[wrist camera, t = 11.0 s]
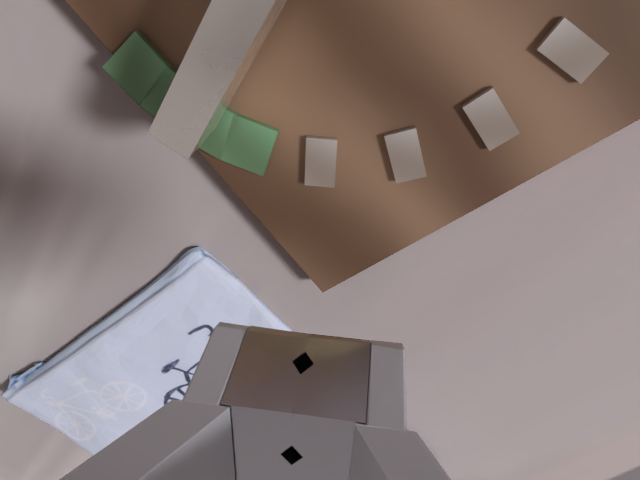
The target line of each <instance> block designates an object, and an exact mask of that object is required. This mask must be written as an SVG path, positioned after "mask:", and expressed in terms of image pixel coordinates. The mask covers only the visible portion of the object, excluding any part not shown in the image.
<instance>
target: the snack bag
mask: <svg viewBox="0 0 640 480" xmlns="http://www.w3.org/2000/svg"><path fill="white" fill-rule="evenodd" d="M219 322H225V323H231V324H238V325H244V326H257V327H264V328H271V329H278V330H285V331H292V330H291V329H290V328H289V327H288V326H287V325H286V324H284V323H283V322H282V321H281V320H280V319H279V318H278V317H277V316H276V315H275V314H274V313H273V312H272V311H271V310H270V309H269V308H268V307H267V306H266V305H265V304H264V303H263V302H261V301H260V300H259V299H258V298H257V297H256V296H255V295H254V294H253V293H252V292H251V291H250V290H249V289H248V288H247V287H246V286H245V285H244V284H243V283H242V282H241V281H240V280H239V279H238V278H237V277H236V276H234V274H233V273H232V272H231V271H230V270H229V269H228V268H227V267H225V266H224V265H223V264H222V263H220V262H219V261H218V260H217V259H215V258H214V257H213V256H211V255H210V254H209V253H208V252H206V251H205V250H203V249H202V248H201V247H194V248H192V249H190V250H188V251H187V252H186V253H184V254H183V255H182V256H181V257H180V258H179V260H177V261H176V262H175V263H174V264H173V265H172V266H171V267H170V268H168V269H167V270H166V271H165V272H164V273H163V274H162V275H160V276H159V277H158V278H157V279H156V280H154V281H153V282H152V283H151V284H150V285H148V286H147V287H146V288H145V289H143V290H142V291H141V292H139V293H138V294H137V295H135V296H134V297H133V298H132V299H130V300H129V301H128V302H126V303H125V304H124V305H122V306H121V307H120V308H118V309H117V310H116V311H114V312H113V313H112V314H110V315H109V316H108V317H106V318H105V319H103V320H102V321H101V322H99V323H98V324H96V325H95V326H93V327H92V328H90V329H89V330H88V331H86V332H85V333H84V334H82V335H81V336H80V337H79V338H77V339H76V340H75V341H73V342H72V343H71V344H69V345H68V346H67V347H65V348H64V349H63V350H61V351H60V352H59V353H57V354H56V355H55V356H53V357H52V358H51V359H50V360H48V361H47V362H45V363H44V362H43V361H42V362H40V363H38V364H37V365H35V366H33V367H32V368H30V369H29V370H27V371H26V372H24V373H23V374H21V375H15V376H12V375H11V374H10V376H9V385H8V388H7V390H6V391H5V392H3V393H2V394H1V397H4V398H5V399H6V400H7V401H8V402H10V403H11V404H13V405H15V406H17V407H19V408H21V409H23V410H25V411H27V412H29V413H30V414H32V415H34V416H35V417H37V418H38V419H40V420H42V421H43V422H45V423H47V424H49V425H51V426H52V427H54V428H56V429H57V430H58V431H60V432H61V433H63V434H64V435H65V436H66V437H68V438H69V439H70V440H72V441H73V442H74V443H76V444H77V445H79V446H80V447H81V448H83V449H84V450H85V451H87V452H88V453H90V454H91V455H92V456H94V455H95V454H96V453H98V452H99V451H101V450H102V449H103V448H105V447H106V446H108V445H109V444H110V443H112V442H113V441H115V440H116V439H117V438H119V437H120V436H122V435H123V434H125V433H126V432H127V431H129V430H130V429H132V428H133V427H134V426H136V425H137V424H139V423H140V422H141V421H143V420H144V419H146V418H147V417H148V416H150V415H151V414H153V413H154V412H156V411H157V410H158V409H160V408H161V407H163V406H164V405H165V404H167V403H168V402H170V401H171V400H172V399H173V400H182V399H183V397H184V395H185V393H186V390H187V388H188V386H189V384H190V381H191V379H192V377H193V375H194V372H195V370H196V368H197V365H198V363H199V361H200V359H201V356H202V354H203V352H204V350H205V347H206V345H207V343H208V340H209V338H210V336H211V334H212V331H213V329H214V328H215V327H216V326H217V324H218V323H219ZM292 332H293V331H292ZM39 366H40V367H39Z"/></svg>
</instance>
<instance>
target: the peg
mask: <svg viewBox="0 0 640 480" xmlns="http://www.w3.org/2000/svg"><path fill="white" fill-rule="evenodd" d="M286 2H287V0H211V3H210V5H209V7H208V9H207V11H206V13H205V15H204V17H203V19H202V21H201V23H200V25H199V27H198V29H197V32H196V34H195V36H194V38H193V40H192V42H191V44H190V46H189V48H188V50H187V52H186V54H185V56H184V59H183V61H182V63H181V65H180V67H179V69H178V71H177V73H176V75H175V77H174V79H173V81H172V83H171V85H170V88H169V90H168V92H167V94H166V96H165V98H164V100H163V102H162V104H161V106H160V108H159V110H158V112H157V114H156V117H155V119H154V121H153V123H152V125H151V127H150V129H149V131H148V133H147V135H149V136H151V137H152V138H154V139H155V140H157V141H159V142H160V143H162V144H163V145H165V146H167V147H168V148H170V149H172V150H173V151H175V152H176V153H178V154H180V155H181V156H183V157H184V158H186V159H189V158H190V157H191V156H192V155H193V154H194V153H195V151H196V150H197V149H198V148H199V147H200V146H201V145H202V143H203V142H204V141H205V140H206V139H207V138H208V137H209V136H210V134H211V133H212V132H213V131H214V130H215V128H216V126H217V125H218V123H219V121H220V119H221V117H222V116H223V114H224V112H225V110H226V109H227V107H228V105H229V103H230V101H231V100H232V98H233V96H234V94H235V93H236V91H237V89H238V87H239V85H240V84H241V82H242V80H243V78H244V76H245V75H246V73H247V71H248V69H249V68H250V66H251V64H252V62H253V60H254V59H255V57H256V55H257V53H258V52H259V50H260V48H261V46H262V44H263V43H264V41H265V39H266V37H267V35H268V34H269V32H270V30H271V28H272V27H273V25H274V23H275V21H276V19H277V18H278V16H279V14H280V12H281V11H282V9H283V7H284V5H285V3H286Z"/></svg>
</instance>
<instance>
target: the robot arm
mask: <svg viewBox="0 0 640 480" xmlns="http://www.w3.org/2000/svg"><path fill="white" fill-rule="evenodd" d="M60 480H451V479H450V478H449V476H448V475H447V474H446V472H445V471H444V469H443V468H442V467H441V465H440V464H439V463H438V461H437V460H436V458H435V457H434V456H433V454H432V453H431V451H430V450H429V449H428V447H427V446H426V444H425V443H424V442H423V440H422V439H421V437H420V436H419V435H418V433H417V432H414V431H408V430H406V392H405V348H404V346H403V344H402V343H392V342H383V341H373V340H372V341H371V342H370V340H362V339H353V338H343V337H334V336H325V335H316V334H306V333H299V332H292V331H285V330H278V329H271V328H264V327H257V326H244V325H238V324H231V323H225V322H219V323H218V324H217V326H216V327H215V328H214V329H213V331H212V334H211V336H210V338H209V340H208V343H207V345H206V347H205V350H204V352H203V354H202V356H201V359H200V361H199V363H198V365H197V368H196V370H195V372H194V375H193V377H192V379H191V381H190V384H189V386H188V388H187V390H186V393H185V395H184V397H183V399H182V400H173V399H172V400H171V401H170V402H168V403H167V404H165V405H164V406H163V407H161V408H160V409H158V410H157V411H156V412H154V413H153V414H151V415H150V416H148V417H147V418H146V419H144V420H143V421H141V422H140V423H139V424H137V425H136V426H134V427H133V428H132V429H130V430H129V431H127V432H126V433H125V434H123V435H122V436H120V437H119V438H117V439H116V440H115V441H113V442H112V443H110V444H109V445H108V446H106V447H105V448H103V449H102V450H101V451H99V452H98V453H96V454H95V455H94V456H92V457H91V458H89V459H88V460H86V461H85V462H84V463H82V464H81V465H79V466H78V467H77V468H75V469H74V470H72V471H71V472H70V473H68V474H67V475H65V476H64V477H63V478H61V479H60Z"/></svg>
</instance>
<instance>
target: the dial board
mask: <svg viewBox="0 0 640 480" xmlns="http://www.w3.org/2000/svg"><path fill="white" fill-rule="evenodd" d="M65 1H66V2H67V3H68V4H69V6H70V7H71V8H72V9H73V10H74V11H75V12H76V13H77V15H78V16H79V17H80V18H81V19H82V20H83V21H84V23H85V24H86V25H87V26H88V27H89V28H90V29H91V30H92V32H93V33H94V34H95V35H96V36H97V37H98V38H99V39H100V41H101V42H102V43H103V44H104V45H105V46H106V47H107V49H108V50H109V51H110V52H111V53H112V54H113V56H112V57H111V58H110V59H109V60H108V61H107V62H106V63H105V64H104V65H103V67H102V68H103V69H104V70H105V71H106V72H107V73H108V74H109V75H110V76H111V77H112V78H113V79H114V80H115V81H116V82H117V83H118V84H119V85H120V86H121V87H122V88H123V89H124V90H125V91H126V92H127V93H128V94H129V96H130V97H131V98H132V99H133V100H134V101H135V102H136V103H137V104H138V105H139V104H140V103H141V104H140V106H141V107H142V108H143V109H144V110H146V111H147V112H148V113H150V114H151V115H152V116H153V117H156V114H157V112H158V110H159V108H160V106H161V104H162V102H163V100H164V98H165V96H166V94H167V92H168V90H169V88H170V85H171V83H172V81H173V79H174V77H175V75H176V73H177V71H178V69H179V67H180V65H181V63H182V61H183V59H184V56H185V54H186V52H187V50H188V48H189V46H190V44H191V42H192V40H193V38H194V36H195V34H196V32H197V29H198V27H199V25H200V23H201V21H202V19H203V17H204V15H205V13H206V11H207V9H208V7H209V5H210V3H211V0H65ZM639 119H640V0H287V2H286V3H285V5H284V7H283V9H282V11H281V12H280V14H279V16H278V18H277V19H276V21H275V23H274V25H273V27H272V28H271V30H270V32H269V34H268V35H267V37H266V39H265V41H264V43H263V44H262V46H261V48H260V50H259V52H258V53H257V55H256V57H255V59H254V60H253V62H252V64H251V66H250V68H249V69H248V71H247V73H246V75H245V76H244V78H243V80H242V82H241V84H240V85H239V87H238V89H237V91H236V93H235V94H234V96H233V98H232V100H231V101H230V103H229V105H228V107H227V109H226V110H225V112H224V114H223V116H222V117H221V119H220V121H219V123H218V125H217V126H216V128H215V130H214V131H213V132H212V133H211V134H210V136H209V137H208V138H207V139H206V140H205V141H204V142H203V143H202V145H201V146H200V147H199V148H198V149H197V151H198V152H199V153H200V154H201V155H202V156H203V157H204V158H205V160H206V161H207V162H208V163H209V164H210V165H211V166H212V168H213V169H214V170H215V171H216V172H217V173H218V174H219V175H220V177H221V178H222V179H223V180H224V181H225V182H226V183H227V185H228V186H229V187H230V188H231V189H232V190H233V191H234V192H235V194H236V195H237V196H238V197H239V198H240V199H241V200H242V201H243V203H244V204H245V205H246V206H247V207H248V208H249V209H250V211H251V212H252V213H253V214H254V215H255V216H256V217H257V218H258V220H259V221H260V222H261V223H262V224H263V225H264V226H265V228H266V229H267V230H268V231H269V232H270V233H271V234H272V235H273V237H274V238H275V239H276V240H277V241H278V242H279V243H280V245H281V246H282V247H283V248H284V249H285V250H286V251H287V252H288V254H289V255H290V256H291V257H292V258H293V259H294V260H295V262H296V263H297V264H298V265H299V266H300V267H301V268H302V269H303V271H304V272H305V273H306V274H307V275H308V276H309V277H310V279H311V280H312V281H313V282H314V283H315V284H316V285H317V286H318V288H319V289H320V290H321V291H322V292H324V291H326V290H328V289H330V288H332V287H334V286H335V285H337V284H339V283H341V282H343V281H345V280H346V279H348V278H350V277H352V276H354V275H356V274H357V273H359V272H361V271H363V270H365V269H367V268H368V267H370V266H372V265H374V264H376V263H377V262H379V261H381V260H383V259H385V258H387V257H388V256H390V255H392V254H394V253H396V252H398V251H399V250H401V249H403V248H405V247H407V246H409V245H410V244H412V243H414V242H416V241H418V240H420V239H421V238H423V237H425V236H427V235H429V234H430V233H432V232H434V231H436V230H438V229H440V228H441V227H443V226H445V225H447V224H449V223H451V222H452V221H454V220H456V219H458V218H460V217H462V216H463V215H465V214H467V213H469V212H471V211H473V210H474V209H476V208H478V207H480V206H482V205H483V204H485V203H487V202H489V201H491V200H493V199H494V198H496V197H498V196H500V195H502V194H504V193H505V192H507V191H509V190H511V189H513V188H515V187H516V186H518V185H520V184H522V183H524V182H526V181H527V180H529V179H531V178H533V177H535V176H536V175H538V174H540V173H542V172H544V171H546V170H547V169H549V168H551V167H553V166H555V165H557V164H558V163H560V162H562V161H564V160H566V159H568V158H569V157H571V156H573V155H575V154H577V153H579V152H580V151H582V150H584V149H586V148H588V147H589V146H591V145H593V144H595V143H597V142H599V141H600V140H602V139H604V138H606V137H608V136H610V135H611V134H613V133H615V132H617V131H619V130H621V129H622V128H624V127H626V126H628V125H630V124H632V123H633V122H635V121H637V120H639Z"/></svg>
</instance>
